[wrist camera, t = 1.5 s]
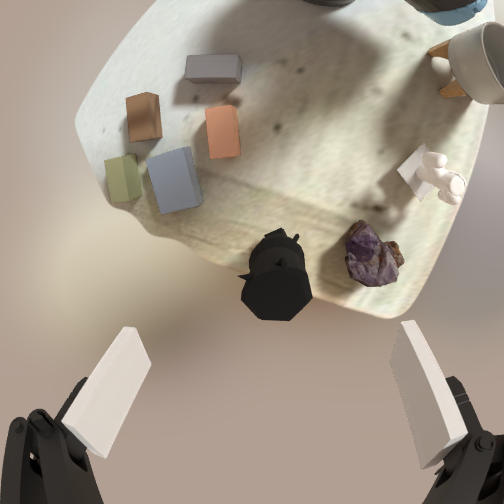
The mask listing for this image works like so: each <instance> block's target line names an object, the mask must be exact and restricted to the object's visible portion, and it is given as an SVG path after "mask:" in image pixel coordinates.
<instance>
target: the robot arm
mask: <svg viewBox="0 0 504 504" xmlns="http://www.w3.org/2000/svg"><path fill="white" fill-rule="evenodd" d="M304 1H306V2H309V3H313V4H317V5H322V6H341V5H346V4H349V3H351V2H353V1H354V0H304ZM405 1H406V2H407V3H409V4H410V5H412V6H413V7H414V8H415V9H416V10H417V11H419V12H420V13H423V14H425V15H426V16H427V17H429V18H430V19H431V20H433V21H434V22H436V23H438V24H440V25H444V26H453V25H457V24H461V23H463V22H466V21H468V20H469V19H471V18H473V17H474V16H475V14H476V13H477V12H480V11H481V10H482V9H483V8H484V7H485V5H486V3H487V0H405ZM390 365H391V368H392V371H393V374H394V377H395V379H396V382H397V385H398V388H399V391H400V394H401V397H402V401H403V404H404V407H405V410H406V414H407V417H408V421H409V424H410V428H411V431H412V435H413V439H414V443H415V446H416V450H417V454H418V458H419V463H420V467H421V470H422V469H425V468H428V467H431V466H434V465H437V464H438V463H439V462H440V461H441V460H442V459H443V461H444V465H443V466H442V467H441V468H440V469H438V471H437V472H436V473H435V475H437V474H438V473H439V472H440V473H439V475H438V477H437V479H436V481H435V483H434V484H433V486H432V488H431V490H430V491H429V493H428V495H427V497H426V499H425V500H424V502H423V503H422V504H504V435H496V436H495V435H493V434H492V433H490V432H488V431H484V430H483V429H482V427H481V425H480V422H479V420H478V418H477V415H476V413H475V411H474V409H473V406H472V404H471V402H470V401H469V398H468V395H467V394H466V391H465V389H464V387H463V385H462V383H461V382H460V381H459V380H457V378H456V377H454V376H452V377H449V378H444V375H443V373H442V371H441V369H440V367H439V365H438V363H437V361H436V359H435V357H434V355H433V353H432V351H431V349H430V348H429V346H428V344H427V342H426V340H425V338H424V336H423V335H422V333H421V331H420V329H419V327H418V326H417V324H416V322H415V321H414V320H411V321H404V322H400V326H399V330H398V334H397V338H396V342H395V345H394V348H393V352H392V355H391V359H390ZM150 366H151V362H150V360H149V358H148V356H147V353H146V351H145V349H144V347H143V344H142V342H141V339H140V337H139V335H138V332H137V330H136V328H134V327H123V329H122V330H121V332H120V333H119V334H118V336H117V337H116V339H115V340H114V341H113V343H112V344H111V346H110V347H109V349H108V350H107V351H106V353H105V354H104V356H103V357H102V359H101V360H100V362H99V363H98V365H97V366H96V368H95V369H94V371H93V372H92V374H91V375H90V377H89V378H87V377H84V378H83V379H82V380H81V381H80V382H78V383H77V385H76V386H75V388H74V389H73V392H71V394H70V396H69V398H67V400H66V402H65V403H64V405H63V406H62V408H61V409H60V411H59V413H58V414H57V416H56V417H55V419H54V420H53V419H52V418H51V417H50V416H49V414H48V413H47V412H46V411H45V410H43V409H36V410H34V411H32V412H31V413H30V414H29V416H28V418H27V420H26V419H24V418H23V417H17V418H16V419H14V420H13V421H12V422H11V424H10V427H9V433H8V437H7V443H6V448H5V455H4V461H3V469H2V480H1V493H0V504H104V503H103V501H102V498H101V495H100V493H99V490H98V487H97V484H96V481H95V478H94V475H93V471H92V468H91V465H90V461H89V458H88V455H87V453H86V452H85V451H86V449H87V448H88V449H89V450H90V451H91V452H92V453H93V454H96V455H98V456H101V457H103V458H107V455H108V453H109V451H110V449H111V446H112V444H113V442H114V440H115V438H116V436H117V434H118V432H119V429H120V427H121V425H122V423H123V421H124V419H125V417H126V415H127V413H128V411H129V409H130V407H131V405H132V402H133V400H134V398H135V396H136V394H137V392H138V390H139V388H140V386H141V384H142V382H143V380H144V378H145V376H146V374H147V372H148V370H149V368H150ZM30 452H31V453H32V454H33V455H34V457H33V459H31V458H30Z"/></svg>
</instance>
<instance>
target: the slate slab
mask: <svg viewBox="0 0 504 504" xmlns="http://www.w3.org/2000/svg"><path fill="white" fill-rule="evenodd" d="M146 164H147V168H148V172H149V175H150V179H151V182H152V186H153V189H154V193H155V196H156V200H157V203H158V207H159V210H160V213H161V215H162V214H166V213H170V212H175V211H179V210H183V209H187V208H191V207H196V206H198V205H200V204H201V203H202V202H203V201H204V200H203V196H202V193H201V189H200V185H199V181H198V177H197V174H196V170H195V166H194V162H193V158H192V154H191V150H190V147H183V148H180V149H176V150H173V151H170V152H167V153H164V154H161V155H158V156H155V157H152V158H149V159H146Z"/></svg>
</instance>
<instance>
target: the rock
mask: <svg viewBox="0 0 504 504" xmlns="http://www.w3.org/2000/svg"><path fill="white" fill-rule="evenodd" d="M345 245H346V251H347V254H348V256H345V262H346V265H347V267H348V272H349V275H350V278H352V279H354V280H356V281H358V282H359V283H362V284H363V285H365V286H367V287H377V286H378V287H381V286H382V285H387V284H390V283H392V282H396V281H397V277H398V275H399V272H398V268H399V267H400V266H401V265H403V264H404V258H403V256H402V254H401V253H400V251H399V246H398V245H397V243H396V242H395V241H391V242H385V243H383V242H382V241H381V240H380V239H379V237H378V235H377V234H375V233H374V232H373V230H372V228H371V227H370V226H369V225H368V224H366V223H365V222H364V221H363V220H359V221H358V222H357V223H355V224H354V225H353V227H352V228H351V229H350V233H349V235H348V240H347V242H346V243H345Z"/></svg>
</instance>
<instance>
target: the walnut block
mask: <svg viewBox="0 0 504 504" xmlns="http://www.w3.org/2000/svg"><path fill="white" fill-rule="evenodd" d="M126 108H127V119H128V129H129V138H130V143H131V142H140V141H146V140H151V139H155V138H160V137H163V136H162V127H161V117H160V106H159V95H156V94H152V93H148V92H145V93H141V94H138V95H134V96H131V97H128V98H126Z"/></svg>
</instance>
